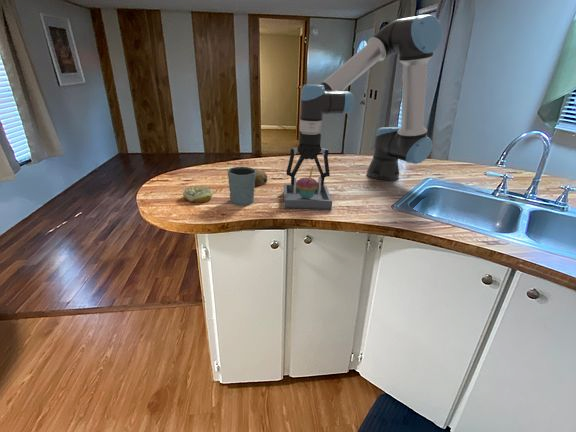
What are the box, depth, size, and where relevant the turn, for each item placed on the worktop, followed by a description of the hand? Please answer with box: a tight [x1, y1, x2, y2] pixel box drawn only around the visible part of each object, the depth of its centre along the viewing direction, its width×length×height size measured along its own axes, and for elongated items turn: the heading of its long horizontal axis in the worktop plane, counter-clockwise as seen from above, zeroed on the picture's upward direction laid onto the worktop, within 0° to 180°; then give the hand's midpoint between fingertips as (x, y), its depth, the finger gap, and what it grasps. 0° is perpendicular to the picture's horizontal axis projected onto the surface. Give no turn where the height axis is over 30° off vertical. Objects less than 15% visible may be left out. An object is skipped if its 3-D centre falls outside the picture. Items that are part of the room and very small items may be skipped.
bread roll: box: [254, 168, 268, 187], centre depth 135 cm, size 10×10×8 cm
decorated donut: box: [182, 185, 213, 204], centre depth 116 cm, size 10×11×4 cm
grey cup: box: [227, 166, 256, 207], centre depth 113 cm, size 10×10×12 cm
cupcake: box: [296, 166, 319, 198], centre depth 115 cm, size 9×8×12 cm
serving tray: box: [283, 183, 333, 211], centre depth 117 cm, size 17×17×4 cm
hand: (306, 193), depth 117 cm, fingers open, 8 cm apart
